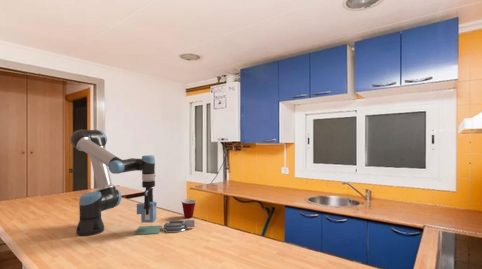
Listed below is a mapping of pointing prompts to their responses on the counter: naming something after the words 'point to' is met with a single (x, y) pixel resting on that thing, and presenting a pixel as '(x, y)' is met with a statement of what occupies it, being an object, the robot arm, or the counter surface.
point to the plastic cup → (188, 207)
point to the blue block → (142, 211)
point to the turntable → (179, 224)
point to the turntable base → (174, 231)
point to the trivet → (148, 230)
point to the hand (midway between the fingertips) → (148, 217)
